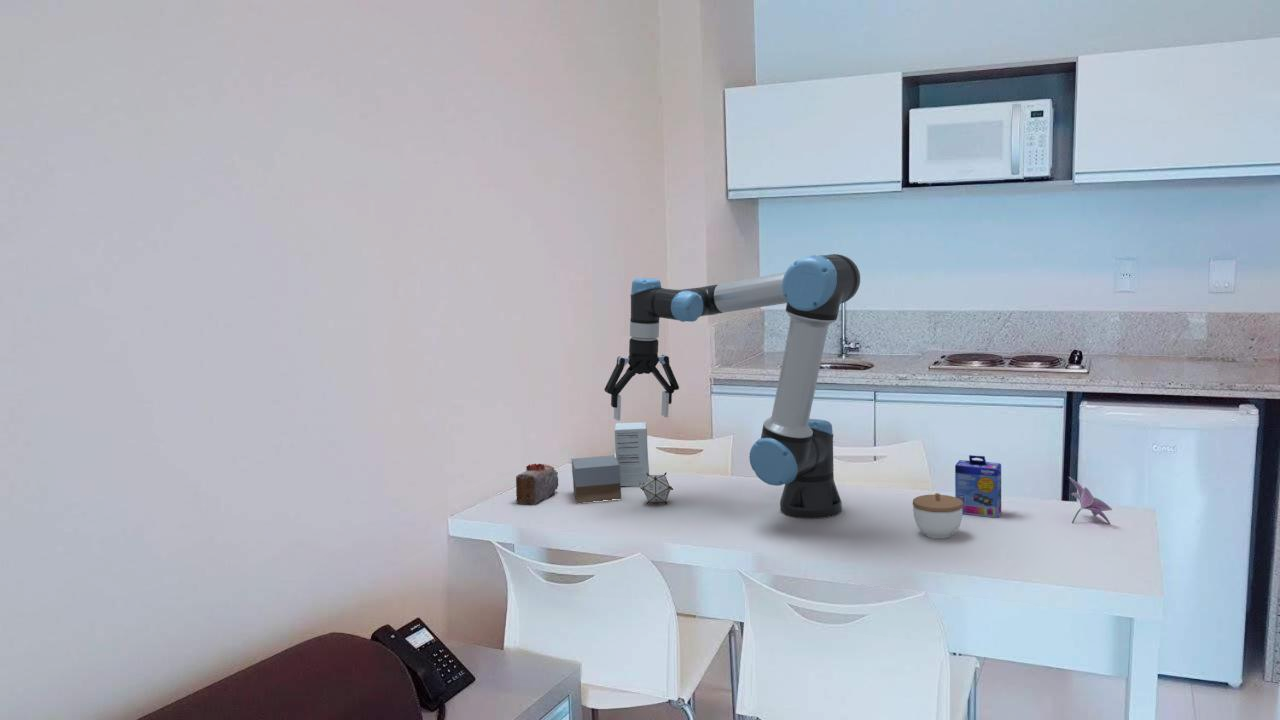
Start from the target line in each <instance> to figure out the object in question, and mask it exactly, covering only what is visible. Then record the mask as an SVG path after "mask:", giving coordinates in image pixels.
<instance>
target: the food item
mask: <svg viewBox="0 0 1280 720" xmlns="http://www.w3.org/2000/svg"><path fill="white" fill-rule="evenodd" d="M525 470H526V471H524V472H521V473H519V474H517V475H516V476H515V487H516V491H515V493H516V494H515V496H516V501H515V502H516V503H517V504H518V505H530V506H536V505H537V504H538V503H540V502H541V501H543V500H544V501H546V500H548V499H549V498H550V496H551V495H553V494H554V493H555V492H556V490H558V487H559V476H558V474H559V472H558V471H557V470H556V469H555V467H554V466H551V465H550V464H545V463H531V464H528V465H527V466H525Z"/></svg>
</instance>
